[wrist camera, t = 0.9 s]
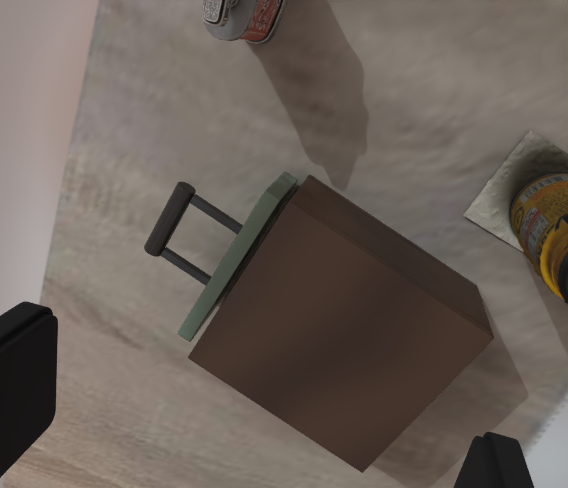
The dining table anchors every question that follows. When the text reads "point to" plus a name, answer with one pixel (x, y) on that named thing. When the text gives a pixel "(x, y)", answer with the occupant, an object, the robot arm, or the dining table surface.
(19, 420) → the robot arm
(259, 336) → the cabinet
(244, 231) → the drawer
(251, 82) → the dining table surface
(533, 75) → the dining table surface
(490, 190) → the condiment
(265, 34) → the lighter
